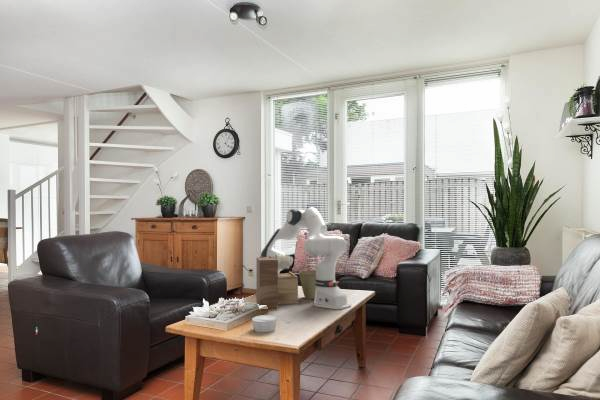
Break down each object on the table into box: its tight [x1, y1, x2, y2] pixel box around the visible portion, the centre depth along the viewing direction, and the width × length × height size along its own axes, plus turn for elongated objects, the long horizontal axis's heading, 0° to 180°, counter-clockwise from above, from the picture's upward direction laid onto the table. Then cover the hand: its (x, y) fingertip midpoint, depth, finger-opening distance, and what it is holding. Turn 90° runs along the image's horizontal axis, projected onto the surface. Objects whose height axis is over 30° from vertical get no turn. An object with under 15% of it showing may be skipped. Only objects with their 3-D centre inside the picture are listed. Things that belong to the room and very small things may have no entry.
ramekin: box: [251, 314, 277, 333], centre depth 192 cm, size 11×11×5 cm
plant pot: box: [298, 269, 316, 300], centre depth 260 cm, size 15×15×16 cm
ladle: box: [276, 254, 291, 265], centre depth 260 cm, size 25×6×4 cm, turn 13°
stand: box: [256, 255, 299, 311], centre depth 247 cm, size 33×24×28 cm
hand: (279, 256), depth 269 cm, fingers closed on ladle, 3 cm apart
